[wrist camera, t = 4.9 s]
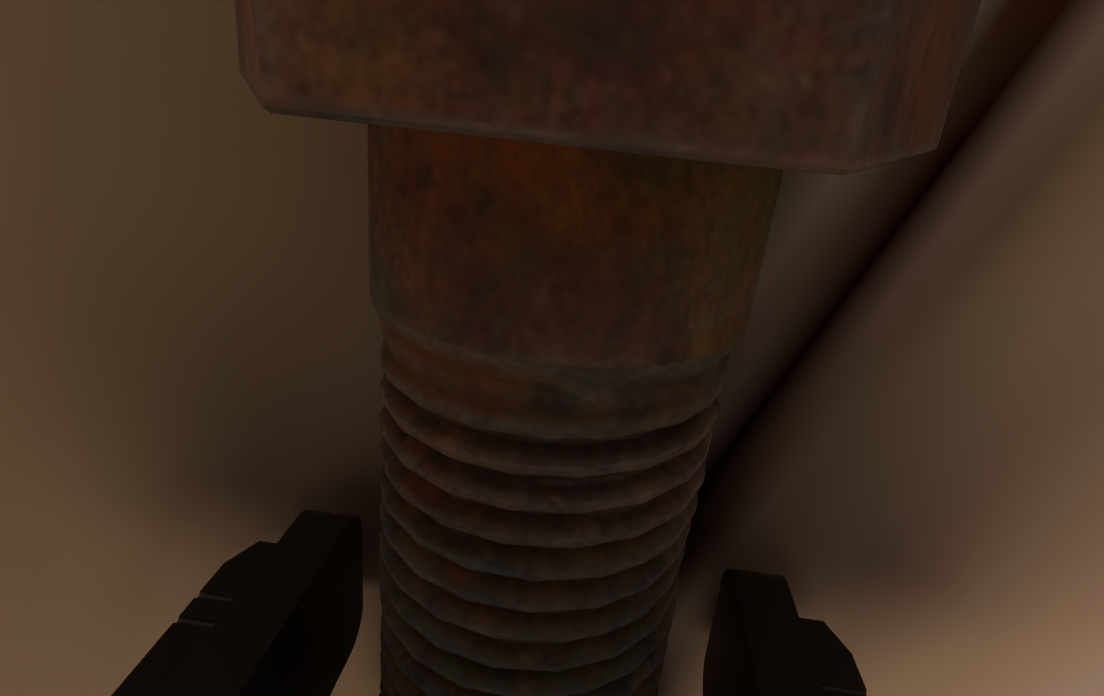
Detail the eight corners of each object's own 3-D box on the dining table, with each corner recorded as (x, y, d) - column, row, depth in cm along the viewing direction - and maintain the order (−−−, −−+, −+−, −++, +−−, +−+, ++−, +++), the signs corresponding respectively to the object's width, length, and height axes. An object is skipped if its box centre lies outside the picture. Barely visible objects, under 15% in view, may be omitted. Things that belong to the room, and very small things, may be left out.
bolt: (484, 769, 14) (552, -41, 9) (704, 947, 12) (1014, -35, 6) (221, 1067, 10) (-5, -207, 4) (486, 1455, 7) (874, -454, 2)
